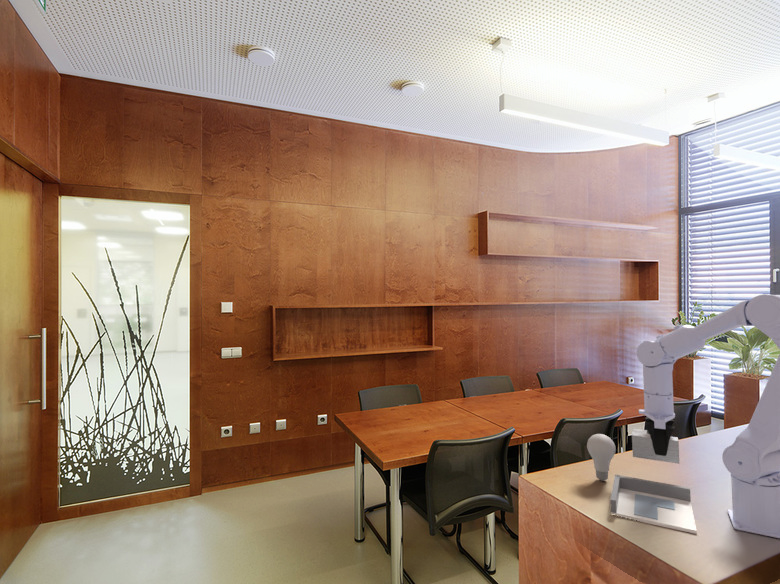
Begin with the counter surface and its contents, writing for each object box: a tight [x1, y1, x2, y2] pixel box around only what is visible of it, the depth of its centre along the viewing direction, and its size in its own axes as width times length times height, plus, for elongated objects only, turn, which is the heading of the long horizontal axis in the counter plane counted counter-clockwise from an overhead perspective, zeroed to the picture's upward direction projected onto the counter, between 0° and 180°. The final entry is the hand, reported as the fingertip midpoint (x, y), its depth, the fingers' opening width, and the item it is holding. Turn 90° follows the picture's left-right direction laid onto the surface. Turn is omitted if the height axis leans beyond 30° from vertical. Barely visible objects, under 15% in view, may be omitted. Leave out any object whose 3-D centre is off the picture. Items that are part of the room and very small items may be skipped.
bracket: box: [631, 428, 680, 465], centre depth 98 cm, size 9×6×5 cm, turn 58°
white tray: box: [609, 474, 698, 535], centre depth 86 cm, size 14×14×3 cm
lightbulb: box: [586, 433, 617, 482], centre depth 100 cm, size 6×6×11 cm
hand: (660, 452), depth 96 cm, fingers closed on bracket, 3 cm apart
